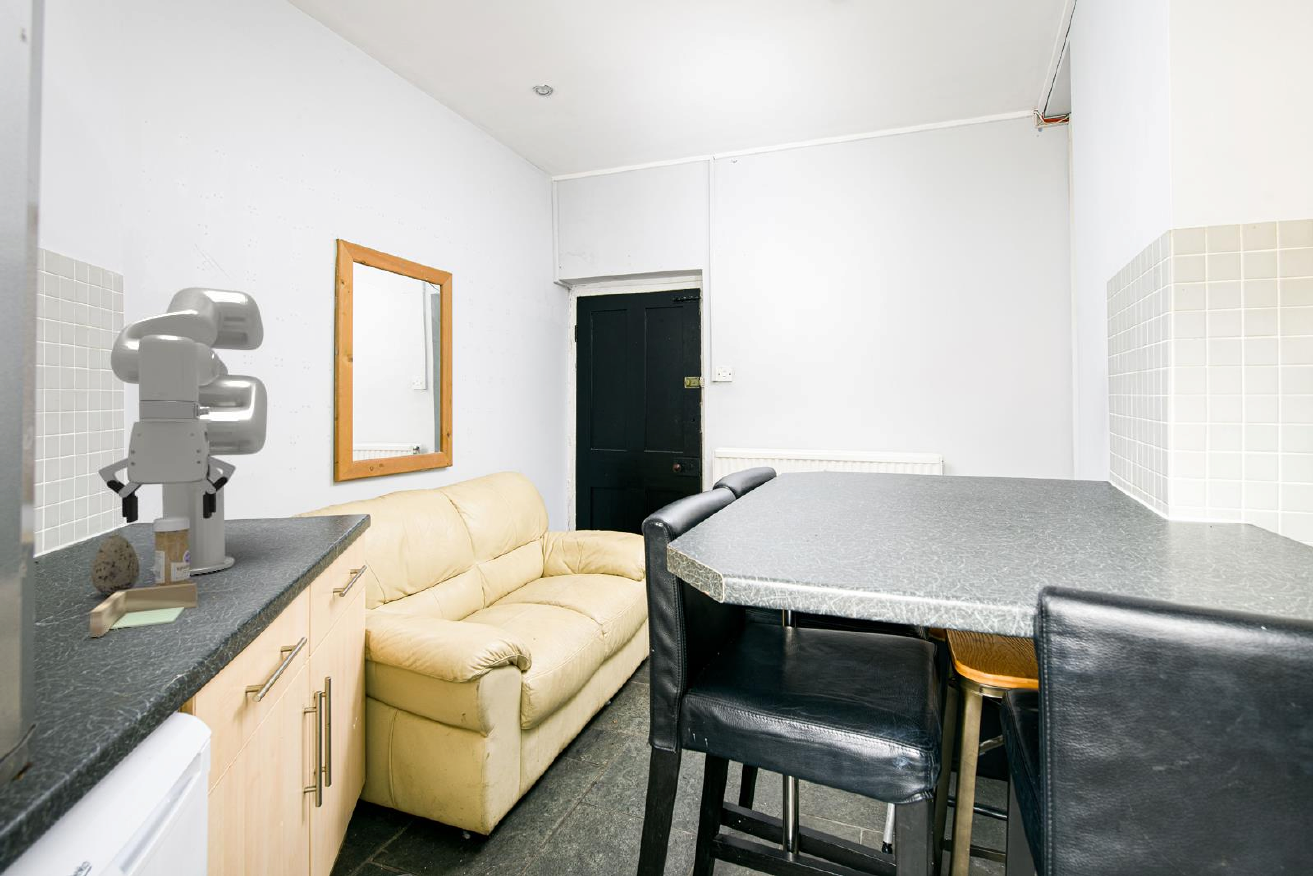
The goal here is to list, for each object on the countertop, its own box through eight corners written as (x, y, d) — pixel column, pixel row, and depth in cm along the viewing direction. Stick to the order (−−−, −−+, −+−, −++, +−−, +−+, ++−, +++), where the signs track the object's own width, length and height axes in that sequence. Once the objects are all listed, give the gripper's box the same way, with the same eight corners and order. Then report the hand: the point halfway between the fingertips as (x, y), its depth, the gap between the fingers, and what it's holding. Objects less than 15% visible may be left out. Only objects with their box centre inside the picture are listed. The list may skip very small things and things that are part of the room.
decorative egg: (141, 595, 101) (140, 535, 101) (92, 602, 97) (91, 540, 96) (138, 587, 105) (137, 530, 105) (91, 594, 101) (89, 535, 101)
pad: (126, 615, 91) (126, 613, 91) (184, 608, 94) (184, 607, 94) (110, 629, 84) (110, 627, 84) (173, 622, 88) (173, 620, 88)
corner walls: (118, 613, 91) (118, 590, 91) (197, 604, 96) (196, 583, 96) (90, 638, 81) (89, 612, 81) (179, 627, 86) (179, 603, 86)
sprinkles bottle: (189, 601, 98) (188, 518, 97) (152, 605, 95) (151, 520, 95) (191, 594, 102) (190, 514, 101) (156, 598, 99) (155, 516, 99)
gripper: (238, 414, 105) (239, 513, 105) (107, 413, 97) (108, 520, 97) (231, 413, 98) (232, 518, 98) (90, 411, 90) (91, 527, 90)
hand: (170, 519), depth 97 cm, fingers open, 9 cm apart
